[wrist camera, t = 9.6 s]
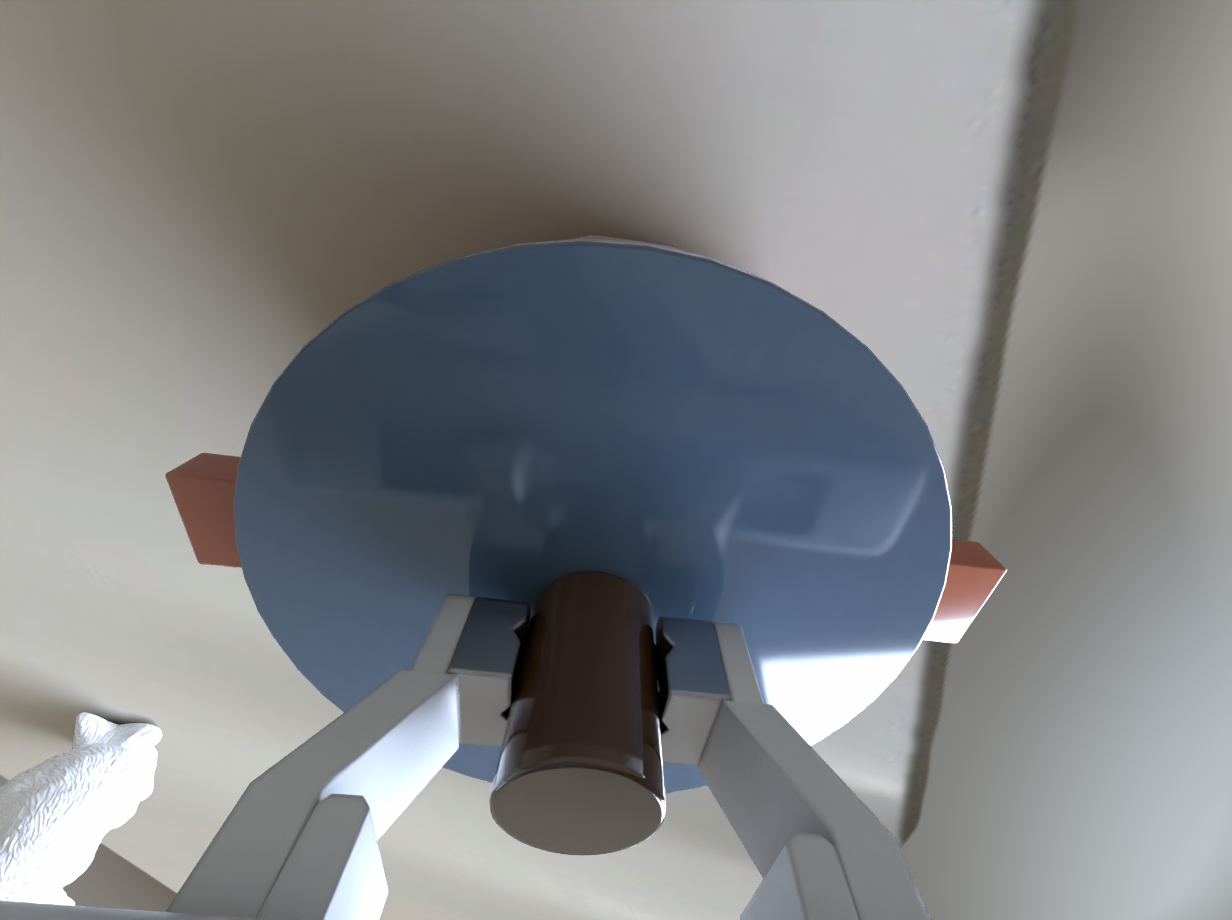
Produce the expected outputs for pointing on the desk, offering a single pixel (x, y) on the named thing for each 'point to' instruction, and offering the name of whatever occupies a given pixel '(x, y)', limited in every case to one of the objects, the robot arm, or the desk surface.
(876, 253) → the desk surface
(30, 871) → the koala figurine
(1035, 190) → the desk surface
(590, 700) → the lid
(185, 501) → the pot
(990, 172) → the desk surface
